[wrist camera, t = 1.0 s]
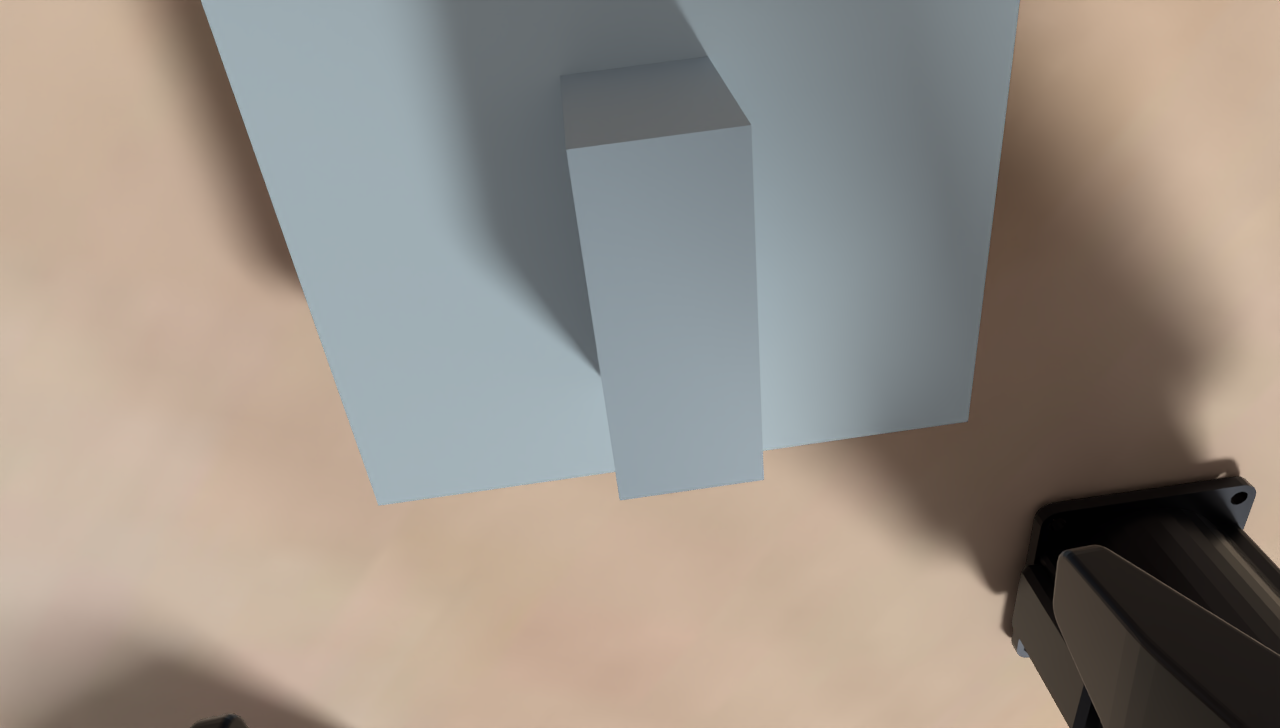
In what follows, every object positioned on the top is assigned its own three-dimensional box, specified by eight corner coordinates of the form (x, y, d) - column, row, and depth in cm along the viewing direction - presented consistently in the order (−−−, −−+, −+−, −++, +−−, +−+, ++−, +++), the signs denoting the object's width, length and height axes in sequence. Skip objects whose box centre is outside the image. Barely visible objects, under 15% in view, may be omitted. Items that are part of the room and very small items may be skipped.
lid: (1014, -150, 14) (1178, -128, 10) (953, 399, 20) (1045, 536, 16) (204, -48, 14) (85, 13, 10) (384, 480, 19) (349, 638, 16)
